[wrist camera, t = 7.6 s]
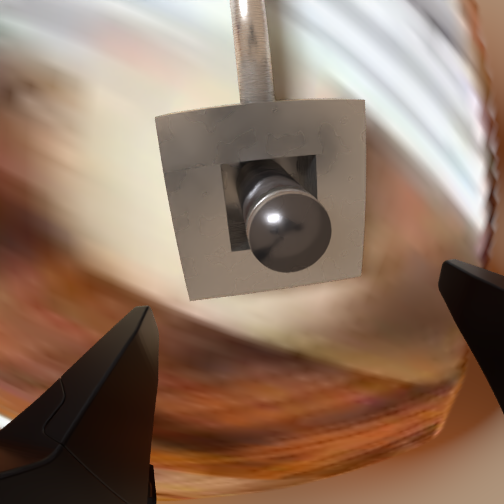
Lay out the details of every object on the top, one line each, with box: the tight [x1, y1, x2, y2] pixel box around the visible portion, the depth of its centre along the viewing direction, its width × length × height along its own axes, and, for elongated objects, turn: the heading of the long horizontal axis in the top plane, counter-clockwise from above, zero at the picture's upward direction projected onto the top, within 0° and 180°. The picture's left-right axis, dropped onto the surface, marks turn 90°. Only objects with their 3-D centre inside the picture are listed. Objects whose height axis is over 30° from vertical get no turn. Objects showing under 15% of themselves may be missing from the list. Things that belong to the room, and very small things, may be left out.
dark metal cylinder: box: [236, 159, 332, 273], centre depth 16 cm, size 3×3×8 cm
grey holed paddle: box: [155, 0, 366, 301], centre depth 16 cm, size 20×10×4 cm, turn 5°
